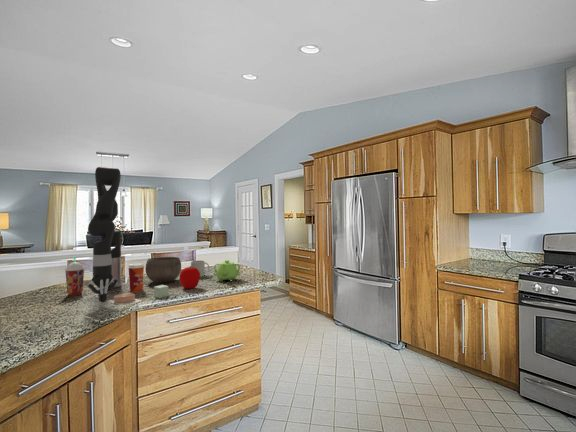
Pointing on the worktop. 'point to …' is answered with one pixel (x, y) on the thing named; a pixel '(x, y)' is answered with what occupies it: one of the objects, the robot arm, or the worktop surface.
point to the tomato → (189, 277)
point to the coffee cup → (136, 277)
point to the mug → (200, 266)
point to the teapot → (227, 270)
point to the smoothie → (74, 278)
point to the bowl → (163, 268)
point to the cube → (160, 291)
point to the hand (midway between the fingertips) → (102, 301)
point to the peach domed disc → (124, 298)
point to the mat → (125, 303)
